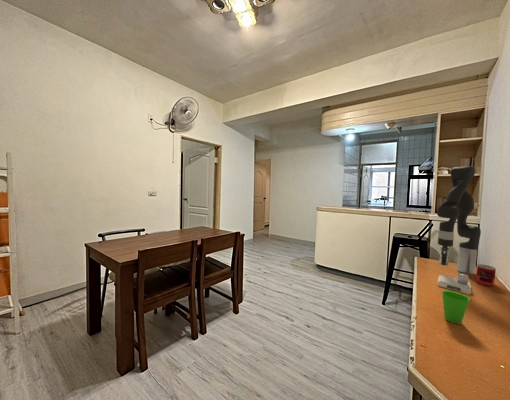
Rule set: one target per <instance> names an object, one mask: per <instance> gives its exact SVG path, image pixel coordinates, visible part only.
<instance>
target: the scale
mask: <svg viewBox="0 0 510 400" xmlns="http://www.w3.org/2000/svg"><path fill="white" fill-rule="evenodd" d="M437 287H441V288H444V289H449V290H451V291H455V292H459V293H460V292H461V293H462V294H463V293H464V294H467V295H471V294H472V286H471V283H470V281H468V285H464V284H460V283H458V282H457V278H455V277H450V276H446V275H443V274H439V276H438V279H437Z"/></svg>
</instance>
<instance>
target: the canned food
mask: <svg viewBox="0 0 510 400" xmlns="http://www.w3.org/2000/svg"><path fill="white" fill-rule="evenodd" d="M496 270H497V269H496V267H494V266H491V265H487V264H483V263H482V264H481V263H479V264H477V267H476V275H475V276H476V277H475V278H476V279H475V281H476V283H477V284H479V285H482V286H484V287H490V288H491V287H494V285H495V280H496Z"/></svg>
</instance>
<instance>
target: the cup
mask: <svg viewBox="0 0 510 400" xmlns="http://www.w3.org/2000/svg"><path fill="white" fill-rule="evenodd" d="M441 294H442V301H443V303H442V304H443V311H444V312H443V313H444V318H446V319H445V320H446V321H447V320H448V321H447V322H449V321H450V322H449V323H451V322H453V323H452V324H454V323H458V324H457V325H460V324H459V323H461V324H462V322H463V319H464V318H465V314H466V311H467V308H468V306H469V302H471V298H470V297H468V296H467V295H464V294H463V293H460V292H458V291H454V290H445V289H444V290H442V291H441Z"/></svg>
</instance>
